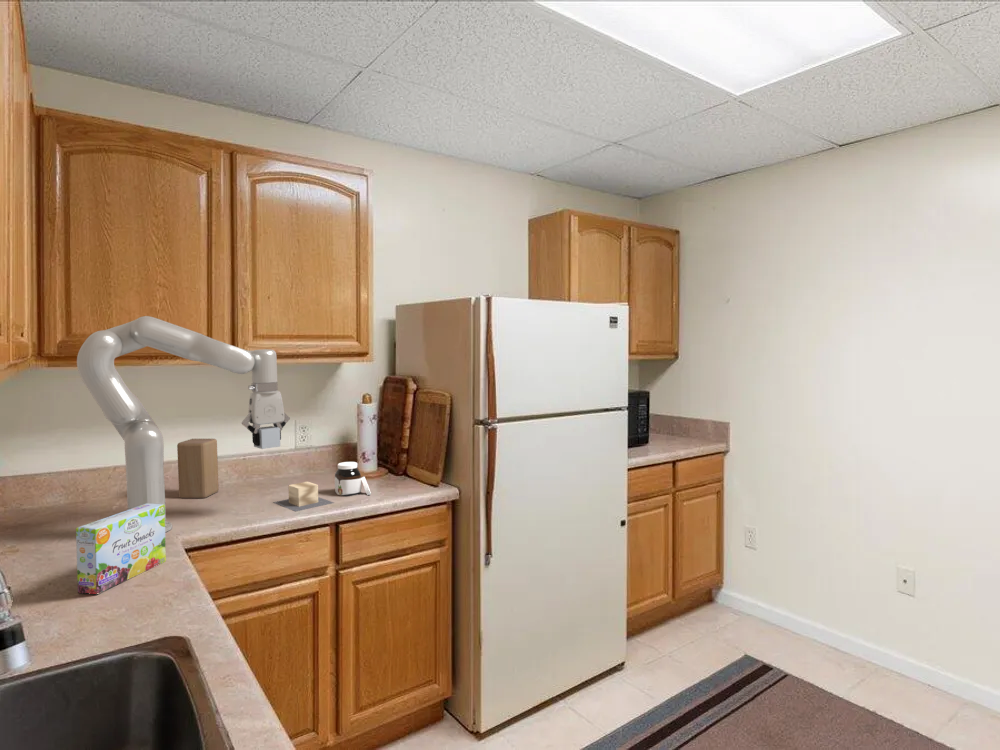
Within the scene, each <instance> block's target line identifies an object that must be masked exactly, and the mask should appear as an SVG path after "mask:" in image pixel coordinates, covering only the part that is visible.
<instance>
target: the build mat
mask: <svg viewBox="0 0 1000 750" xmlns="http://www.w3.org/2000/svg"><path fill="white" fill-rule="evenodd" d="M272 503H273V504H276V505H278V506H280V507H283V508H285V509H288V510H290V511H293V512H300V511H305V510H308V509H313V508H318V507H322V506H326V505H331V504H335V502H333V501H331V500H329V499H325V498H323V497H319V496H318V503H313V504H308V505H304V506H296V505H294V504H291V503H289V498H288V499H283V500H278V501H273V502H272Z"/></svg>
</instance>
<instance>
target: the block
mask: <svg viewBox="0 0 1000 750" xmlns="http://www.w3.org/2000/svg"><path fill="white" fill-rule="evenodd" d="M176 447H177V448H176V449H177V451H176V452H177V470H178V471H177V473H178V475H177V476H178V497H179V498H182V499H206V498H207V497H210V496H212V495H214V494H216V493H218V492H219V488H220V487H219V463H218V462H219V461H218V440H217V439H216V438H190V439H187V440H183V441H180V442H178V443H177V446H176Z"/></svg>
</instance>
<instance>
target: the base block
mask: <svg viewBox="0 0 1000 750" xmlns="http://www.w3.org/2000/svg"><path fill="white" fill-rule="evenodd" d="M287 488H288V499H289V503H291V504H294V505H296V506H304V505H308V504H313V503H318V497H319V485H318V484H316V483H313V482H310V481H303V482H298V483H293V484H289V485H288V487H287Z"/></svg>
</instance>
